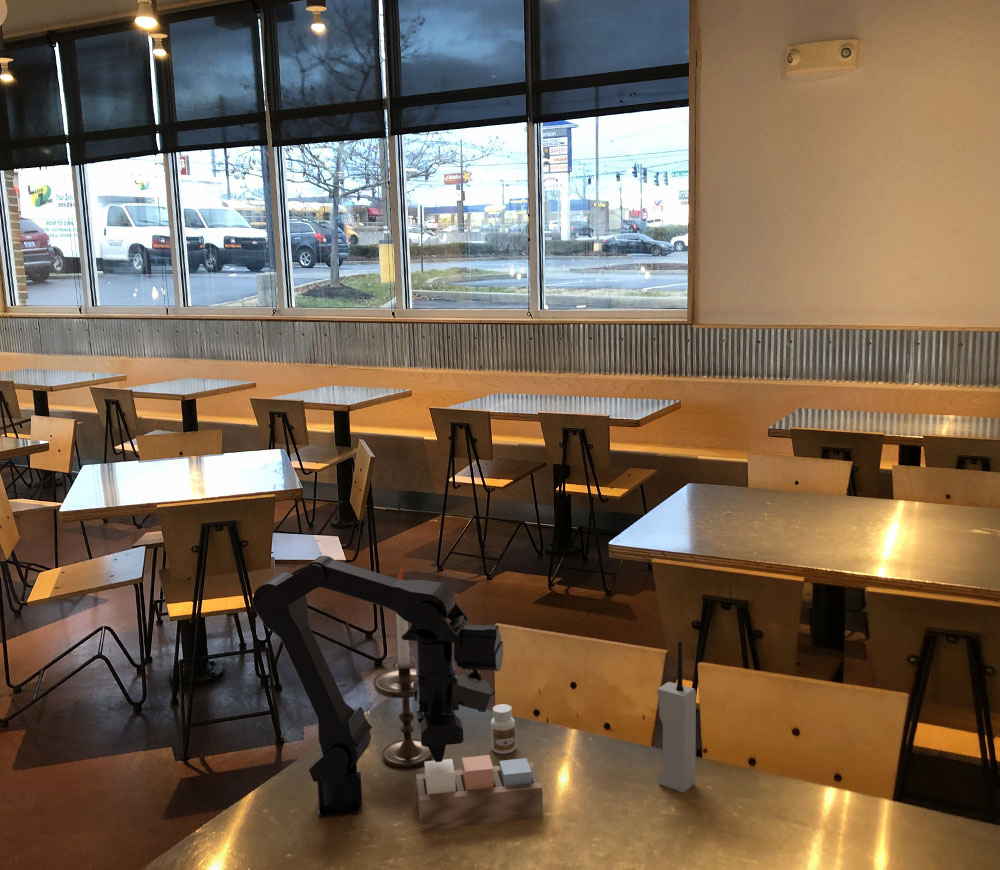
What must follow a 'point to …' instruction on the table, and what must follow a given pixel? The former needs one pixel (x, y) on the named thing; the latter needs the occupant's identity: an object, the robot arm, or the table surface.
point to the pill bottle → (503, 729)
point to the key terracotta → (477, 772)
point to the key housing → (479, 803)
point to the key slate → (515, 772)
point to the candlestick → (401, 686)
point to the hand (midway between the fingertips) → (438, 760)
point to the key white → (439, 777)
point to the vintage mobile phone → (678, 732)
